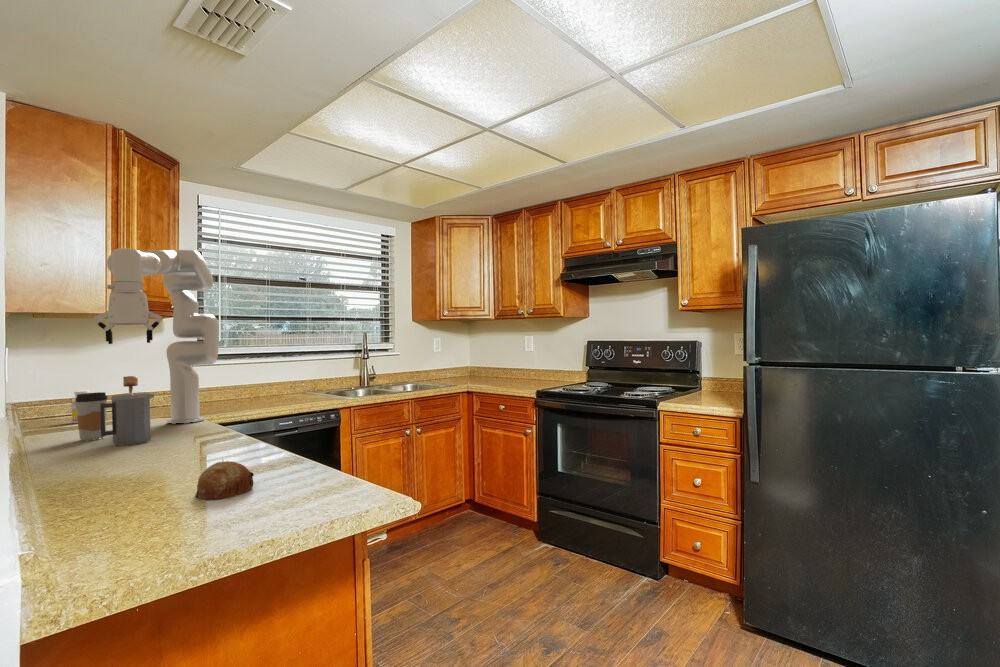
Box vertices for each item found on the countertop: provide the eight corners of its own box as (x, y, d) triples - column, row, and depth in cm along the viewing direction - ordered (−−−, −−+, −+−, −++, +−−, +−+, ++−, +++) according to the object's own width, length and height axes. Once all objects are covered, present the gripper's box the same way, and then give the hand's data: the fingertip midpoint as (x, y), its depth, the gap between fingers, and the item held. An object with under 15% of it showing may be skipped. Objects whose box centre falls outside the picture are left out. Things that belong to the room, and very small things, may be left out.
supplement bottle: (89, 420, 212) (88, 389, 212) (96, 421, 209) (95, 390, 209) (69, 423, 206) (68, 391, 207) (76, 424, 203) (75, 392, 203)
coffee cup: (104, 435, 173) (103, 391, 173) (111, 438, 167) (110, 392, 168) (73, 440, 166) (72, 394, 166) (79, 442, 161) (78, 395, 161)
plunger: (121, 437, 159) (119, 376, 159) (144, 434, 162) (142, 375, 162) (118, 440, 154) (117, 377, 154) (143, 437, 157) (141, 376, 157)
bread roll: (200, 509, 102) (180, 477, 100) (249, 477, 109) (230, 446, 106) (215, 520, 95) (193, 486, 93) (266, 486, 102) (247, 453, 99)
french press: (103, 443, 158) (102, 394, 158) (155, 438, 165) (154, 391, 165) (99, 448, 150) (98, 397, 150) (154, 442, 157) (152, 393, 157)
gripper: (91, 286, 151) (92, 344, 151) (161, 288, 160) (162, 342, 160) (95, 289, 157) (96, 344, 157) (162, 290, 166) (163, 342, 166)
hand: (129, 343), depth 158 cm, fingers open, 9 cm apart
